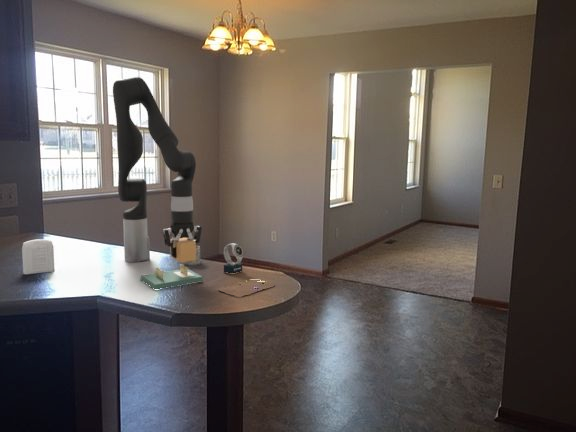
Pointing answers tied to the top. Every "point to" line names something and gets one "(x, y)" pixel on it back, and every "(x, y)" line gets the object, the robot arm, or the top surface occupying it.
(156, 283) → the header board
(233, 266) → the watch
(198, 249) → the mug
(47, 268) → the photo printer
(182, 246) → the block
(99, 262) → the top surface
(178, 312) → the top surface
